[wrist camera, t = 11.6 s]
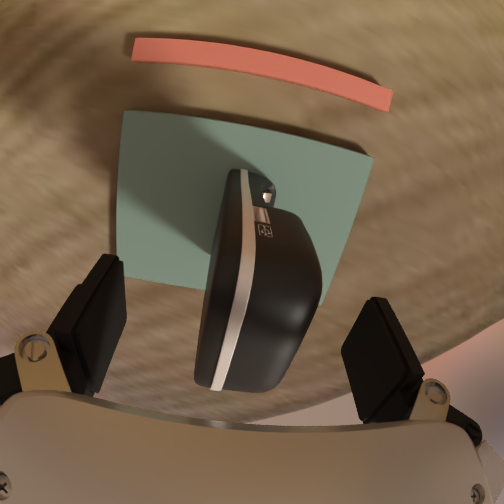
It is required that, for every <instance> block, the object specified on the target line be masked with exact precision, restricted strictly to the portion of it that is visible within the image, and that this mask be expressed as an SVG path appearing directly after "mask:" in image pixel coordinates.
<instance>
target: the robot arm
mask: <svg viewBox="0 0 504 504" xmlns="http://www.w3.org/2000/svg"><path fill="white" fill-rule="evenodd" d="M126 319H127V312H126V299H125V284H124V264H123V261H120V260H119V257H118V256H115V255H110V254H103V255H102V256H101V257H100V259H99V260H98V261H97V263H96V264H95V266H94V267H93V268H92V270H91V271H90V273H89V274H88V276H87V277H86V279H85V280H84V281H83V283H82V284H78V285H77V286H76V287H75V288H74V290H73V291H72V293H71V294H70V296H69V297H68V299H67V300H66V302H65V303H64V305H63V306H62V308H61V309H60V311H59V312H58V314H57V316H56V317H55V319H54V320H53V322H52V324H51V325H50V327H49V329H48V330H47V332H46V333H45V332H43V331H30V332H28V333H25V334H24V335H22V336H21V337H20V338H19V339H18V341H17V342H16V345H15V348H14V353H12V354H10V355H7V356H4V357H1V358H0V504H494V503H495V501H496V500H497V498H498V496H499V494H500V493H501V490H502V489H503V487H504V460H503V459H502V458H501V457H500V456H499V455H498V453H497V452H496V451H495V450H494V449H493V448H492V447H491V446H490V445H489V443H487V441H486V440H483V441H482V431H481V429H480V426H479V425H478V424H477V423H476V422H475V421H474V420H472V419H471V418H469V417H468V416H466V415H465V414H463V413H462V412H460V411H459V410H457V409H455V408H454V407H453V406H451V405H450V394H449V391H448V389H447V388H446V387H445V385H444V384H442V383H441V382H440V381H438V380H436V379H431V378H430V379H426V380H425V381H423V379H422V377H423V376H424V374H425V373H424V371H423V369H422V367H421V365H420V362H419V360H418V358H417V356H416V354H415V352H414V350H413V348H412V346H411V344H410V342H409V340H408V338H407V336H406V334H405V332H404V330H403V328H402V327H401V325H400V323H399V321H398V319H397V317H396V315H395V313H394V311H393V310H392V308H391V306H390V304H389V302H388V300H387V299H386V298H380V297H372V298H370V300H367V301H366V303H365V304H364V306H363V308H362V310H361V312H360V314H359V316H358V318H357V320H356V322H355V323H354V325H353V327H352V329H351V331H350V333H349V334H348V336H347V338H346V340H345V341H344V343H343V345H342V348H341V355H342V358H343V361H344V365H345V368H346V372H347V375H348V379H349V382H350V386H351V390H352V393H353V397H354V401H355V404H356V408H357V412H358V416H359V419H360V420H361V421H363V424H358V425H341V426H274V425H273V426H272V425H255V424H242V423H231V422H222V421H213V420H205V419H197V418H191V417H184V416H178V415H172V414H167V413H161V412H156V411H151V410H146V409H141V408H137V407H132V406H128V405H123V404H119V403H115V402H111V401H107V400H103V399H99V398H94V397H93V395H94V393H95V392H96V393H99V391H100V389H101V386H102V383H103V380H104V378H105V375H106V372H107V369H108V367H109V364H110V362H111V359H112V356H113V354H114V351H115V349H116V346H117V344H118V341H119V339H120V336H121V334H122V331H123V329H124V326H125V324H126Z"/></svg>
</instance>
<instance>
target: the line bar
mask: <svg viewBox="0 0 504 504" xmlns="http://www.w3.org/2000/svg"><path fill="white" fill-rule="evenodd" d="M131 61H135V62H148V63H166V64H179V65H190V66H199V67H208V68H215V69H222V70H229V71H235V72H241V73H247V74H252V75H257V76H262V77H267V78H272V79H276V80H281V81H285V82H289V83H293V84H297V85H301V86H305V87H308V88H312V89H316V90H319V91H323V92H326V93H329V94H333V95H336V96H339V97H342V98H345V99H348V100H351V101H354V102H357V103H360V104H363V105H366V106H368V107H371V108H374V109H376V110H379V111H383V112H388V111H389V107H390V103H391V99H392V95H393V91H391V90H389V89H387V88H384V87H382V86H379V85H377V84H374V83H372V82H369V81H366V80H364V79H361V78H358V77H356V76H353V75H350V74H347V73H344V72H341V71H338V70H335V69H332V68H329V67H326V66H322V65H319V64H315V63H312V62H308V61H305V60H301V59H297V58H293V57H289V56H285V55H281V54H276V53H272V52H267V51H262V50H257V49H252V48H246V47H241V46H234V45H228V44H221V43H213V42H204V41H194V40H182V39H166V38H135V43H134V47H133V52H132V57H131Z"/></svg>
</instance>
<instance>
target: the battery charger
mask: <svg viewBox="0 0 504 504" xmlns="http://www.w3.org/2000/svg"><path fill="white" fill-rule="evenodd" d="M275 199H276V188H275V186H274V184H273V183H272V182H271V181H270V180H269V179H267V178H266V177H264V176H261V175H259V174H257V173H252V172H248V170H245V169H241V170H239V169H231V170H230V171H229V173H228V176H227V180H226V185H225V189H224V194H223V199H222V203H221V208H220V212H219V217H218V222H217V227H216V232H215V237H214V241H213V246H212V251H211V257H210V263H209V269H208V276H207V282H206V289H205V295H204V302H203V309H202V316H201V323H200V330H199V338H198V346H197V353H196V361H195V370H194V380H195V382H196V383H197V384H198V385H200V386H203V387H209V389H210V390H216V391H221V389H224V390H232V391H241V392H250V393H263V392H266V391H269V390H271V389H273V388H275V387H276V386H277V385H278V384H279V383H280V382H281V380H282V378H283V377H284V375H285V373H286V371H287V369H288V368H289V366H290V364H291V362H292V360H293V358H294V356H295V354H296V353H297V351H298V349H299V347H300V344H301V342H302V340H303V338H304V336H305V334H306V332H307V330H308V328H309V325H310V323H311V321H312V319H313V317H314V314H315V312H316V309H317V307H318V304H319V302H320V298H321V295H322V287H323V286H322V271H321V266H320V262H319V259H318V256H317V253H316V250H315V247H314V245H313V242H312V239H311V237H310V235H309V233H308V232H307V230H306V228H305V226H304V224H303V222H302V220H301V218H300V217H298V216H297V215H295V214H294V213H292V212H289V211H286V210H283V209H279V208H274V204H275Z"/></svg>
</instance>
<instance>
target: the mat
mask: <svg viewBox="0 0 504 504" xmlns="http://www.w3.org/2000/svg"><path fill="white" fill-rule="evenodd" d="M373 160H374V158H373V157H371V156H369V155H367V154H363V153H360V152H357V151H354V150H350V149H347V148H344V147H340V146H337V145H333V144H329V143H326V142H322V141H318V140H314V139H311V138H307V137H303V136H298V135H294V134H290V133H286V132H281V131H277V130H272V129H267V128H262V127H257V126H252V125H247V124H241V123H236V122H230V121H224V120H218V119H211V118H204V117H197V116H189V115H181V114H172V113H163V112H152V111H139V110H125V111H124V113H123V121H122V130H121V140H120V151H119V164H118V181H117V210H116V243H117V256H118V257H119V260H120V261H123V264H124V276H126V277H131V278H137V279H142V280H148V281H153V282H159V283H165V284H171V285H177V286H183V287H189V288H195V289H201V290H205V289H206V282H207V276H208V269H209V263H210V257H211V251H212V246H213V241H214V237H215V232H216V227H217V222H218V217H219V212H220V208H221V203H222V199H223V194H224V189H225V185H226V180H227V176H228V173H229V171H230V170H231V169H239V170H241V169H245V170H248V172H252V173H257V174H259V175H261V176H264V177H266V178H267V179H269V180H270V181H271V182H272V183H273V184H274V186H275V188H276V199H275V204H274V208H279V209H283V210H286V211H289V212H292V213H294V214H295V215H297V216H298V217H300V218H301V220H302V222H303V224H304V226H305V228H306V230H307V232H308V233H309V235H310V237H311V239H312V242H313V245H314V247H315V250H316V253H317V256H318V259H319V262H320V266H321V271H322V286H323V287H322V295H321V298H320V302H319V304H318V305H320V306H321V305H322V302H323V300H324V297H325V295H326V293H327V290H328V288H329V285H330V283H331V280H332V278H333V275H334V273H335V270H336V268H337V265H338V262H339V260H340V257H341V254H342V252H343V249H344V246H345V244H346V241H347V238H348V236H349V233H350V230H351V227H352V224H353V222H354V219H355V216H356V213H357V210H358V207H359V204H360V201H361V198H362V195H363V192H364V189H365V186H366V183H367V179H368V176H369V173H370V170H371V167H372V163H373Z"/></svg>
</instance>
